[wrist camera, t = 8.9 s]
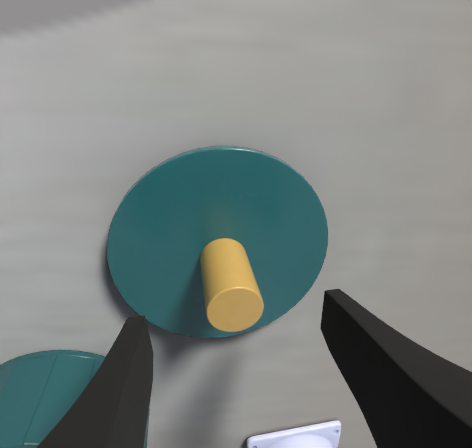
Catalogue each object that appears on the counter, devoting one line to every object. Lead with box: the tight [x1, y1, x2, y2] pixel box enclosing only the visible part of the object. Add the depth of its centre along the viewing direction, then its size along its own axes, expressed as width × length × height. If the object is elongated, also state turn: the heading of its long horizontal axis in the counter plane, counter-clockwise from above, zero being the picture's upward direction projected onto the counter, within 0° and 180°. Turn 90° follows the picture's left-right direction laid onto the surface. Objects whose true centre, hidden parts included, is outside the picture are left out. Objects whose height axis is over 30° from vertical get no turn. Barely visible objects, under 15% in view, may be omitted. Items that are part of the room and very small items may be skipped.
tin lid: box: [107, 146, 328, 338], centre depth 16 cm, size 11×11×5 cm
